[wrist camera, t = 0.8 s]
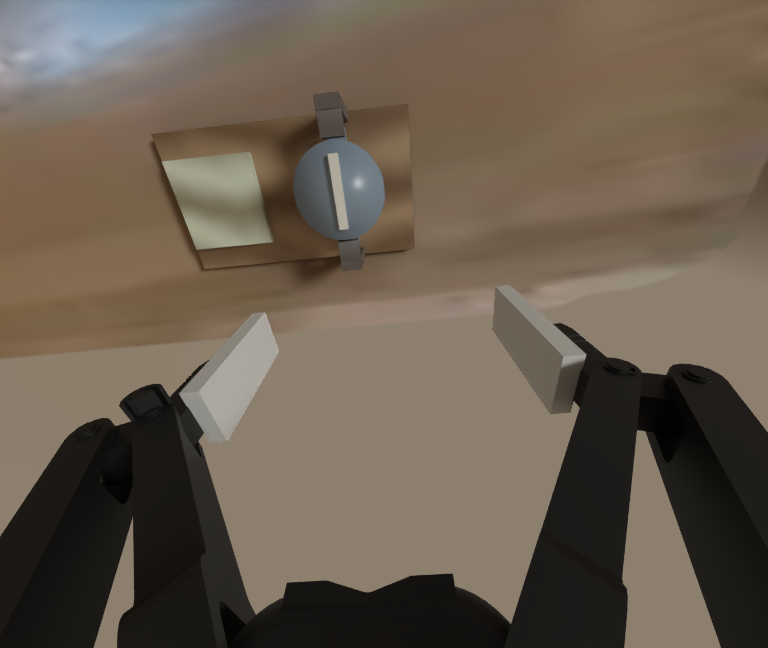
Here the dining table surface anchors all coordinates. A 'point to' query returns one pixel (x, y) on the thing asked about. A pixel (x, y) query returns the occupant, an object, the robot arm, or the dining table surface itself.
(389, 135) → the base
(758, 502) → the robot arm
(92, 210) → the dining table surface
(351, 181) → the cap
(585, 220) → the dining table surface
